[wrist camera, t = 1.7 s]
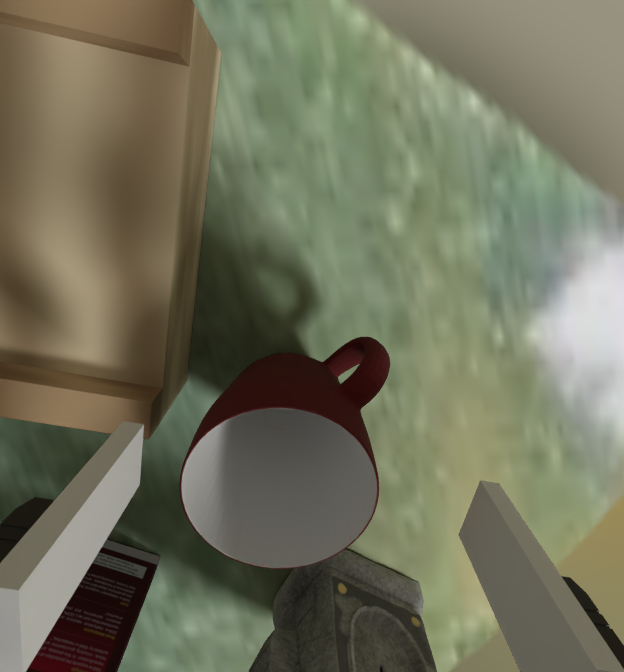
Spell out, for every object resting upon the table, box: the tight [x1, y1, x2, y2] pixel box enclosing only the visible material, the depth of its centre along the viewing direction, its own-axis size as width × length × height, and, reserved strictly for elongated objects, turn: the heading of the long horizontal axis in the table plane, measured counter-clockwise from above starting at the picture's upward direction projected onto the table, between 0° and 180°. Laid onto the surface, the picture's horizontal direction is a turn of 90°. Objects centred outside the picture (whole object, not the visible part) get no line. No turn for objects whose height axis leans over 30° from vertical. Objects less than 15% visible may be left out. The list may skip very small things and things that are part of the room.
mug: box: [180, 337, 390, 569], centre depth 20 cm, size 10×8×10 cm
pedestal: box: [0, 0, 221, 439], centre depth 18 cm, size 16×18×6 cm
